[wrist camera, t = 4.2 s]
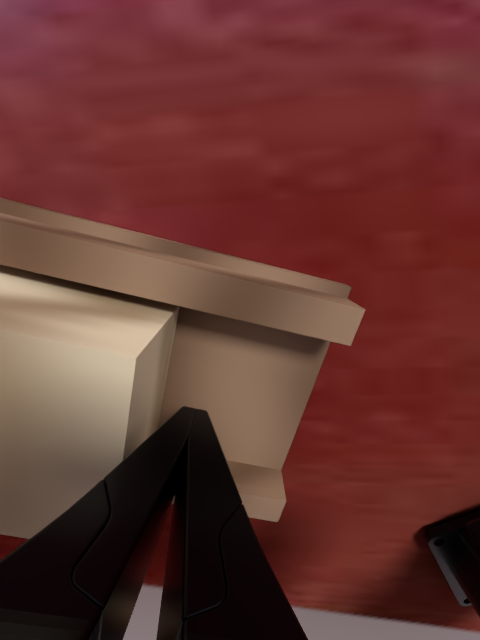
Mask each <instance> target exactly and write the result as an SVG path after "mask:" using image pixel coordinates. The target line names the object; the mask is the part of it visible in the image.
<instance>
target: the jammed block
mask: <svg viewBox="0 0 480 640" xmlns="http://www.w3.org/2000/svg"><path fill="white" fill-rule="evenodd" d="M179 307H180V306H177V305H173V304H168V303H164V302H160V301H155V300H151V299H147V298H142V297H138V296H134V295H130V294H125V293H121V292H117V291H112V290H108V289H104V288H99V287H95V286H91V285H87V284H82V283H78V282H74V281H69V280H65V279H61V278H56V277H52V276H48V275H44V274H39V273H35V272H31V271H26V270H22V269H18V268H13V267H9V266H5V265H1V264H0V534H1V535H8V536H14V537H20V538H27V539H30V538H31V537H33V536H34V535H35V534H37V533H38V532H39V531H41V530H42V529H43V528H45V527H46V526H47V525H48V524H50V523H51V522H52V521H54V520H55V519H56V518H57V517H59V516H60V515H61V514H62V513H64V512H65V511H66V510H68V509H69V508H70V507H71V506H72V505H73V504H75V503H76V502H77V501H78V500H79V499H80V498H82V497H83V496H84V495H85V494H86V493H87V492H89V491H90V490H91V489H92V488H93V487H94V486H95V485H96V484H97V483H98V482H99V481H101V480H104V477H105V476H106V475H107V474H109V473H110V472H111V471H112V470H113V469H114V468H115V467H116V466H117V465H118V464H120V463H121V462H122V461H123V460H124V459H125V458H126V457H127V456H128V455H130V454H131V453H132V452H133V451H134V450H135V449H136V448H137V447H138V446H139V445H141V444H142V443H143V442H144V441H145V440H146V439H147V438H148V437H149V436H150V435H152V434H153V433H154V432H155V431H156V430H157V429H158V425H159V419H160V413H161V408H162V402H163V397H164V391H165V385H166V380H167V374H168V368H169V363H170V357H171V352H172V346H173V340H174V335H175V329H176V324H177V318H178V312H179Z"/></svg>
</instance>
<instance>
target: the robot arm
mask: <svg viewBox="0 0 480 640" xmlns="http://www.w3.org/2000/svg"><path fill="white" fill-rule="evenodd" d="M174 495H175V497H174ZM173 498H174V505H173V513H172V521H171V529H170V537H169V544H168V552H167V560H166V568H165V576H164V584H163V592H162V600H161V608H160V616H159V624H158V631H157V640H308V639H307V637H306V635H305V633H304V631H303V629H302V627H301V625H300V623H299V621H298V619H297V617H296V615H295V613H294V611H293V609H292V607H291V605H290V603H289V602H288V600H287V598H286V596H285V594H284V592H283V590H282V588H281V586H280V584H279V582H278V580H277V578H276V576H275V574H274V572H273V570H272V568H271V566H270V564H269V562H268V560H267V558H266V556H265V554H264V552H263V550H262V548H261V546H260V544H259V541H258V539H257V537H256V534H255V532H254V530H253V527H252V525H251V522H250V520H249V517H248V515H247V512H246V510H245V507H244V505H243V504H242V499H241V497H240V494H239V492H238V489H237V486H236V484H235V481H234V479H233V476H232V473H231V471H230V468H229V466H228V463H227V460H226V458H225V455H224V453H223V450H222V447H221V445H220V442H219V440H218V437H217V434H216V432H215V429H214V427H213V424H212V421H211V419H210V416H209V414H208V412H207V411H206V410H202V409H197V408H196V409H195V408H192V407H187V406H183V407H181V408H180V409H179V410H178V411H177V412H176V413H175V414H174V415H173V416H171V417H170V418H169V419H168V420H167V421H166V422H165V423H164V424H163V425H162V426H160V427H159V428H158V429H157V430H156V431H155V432H154V433H153V434H152V435H150V436H149V437H148V438H147V439H146V440H145V441H144V442H143V443H142V444H141V445H139V446H138V447H137V448H136V449H135V450H134V451H133V452H132V453H131V454H130V455H128V456H127V457H126V458H125V459H124V460H123V461H122V462H121V463H120V464H118V465H117V466H116V467H115V468H114V469H113V470H112V471H111V472H110V473H109V474H107V475H106V476H105V477H104V480H101V481H99V482H98V483H97V484H96V485H95V486H94V487H93V488H92V489H91V490H90V491H89V492H87V493H86V494H85V495H84V496H83V497H82V498H80V499H79V500H78V501H77V502H76V503H75V504H73V505H72V506H71V507H70V508H69V509H68V510H66V511H65V512H64V513H62V514H61V515H60V516H59V517H57V518H56V519H55V520H54V521H52V522H51V523H50V524H48V525H47V526H46V527H45V528H43V529H42V530H41V531H39V532H38V533H37V534H35V535H34V536H33V537H31V538H30V539H29V540H27V541H26V542H25V543H23V544H22V545H21V546H19V547H18V548H17V549H15V550H14V551H13V552H11V553H10V554H9V555H7V556H6V557H5V558H3V559H2V560H1V561H0V640H123V637H124V634H125V631H126V628H127V626H128V623H129V620H130V618H131V615H132V612H133V609H134V607H135V603H136V601H137V598H138V595H139V593H140V590H141V587H142V584H143V582H144V579H145V576H146V573H147V570H148V568H149V565H150V562H151V559H152V557H153V554H154V551H155V548H156V545H157V543H158V540H159V537H160V534H161V532H162V529H163V526H164V523H165V520H166V518H167V515H168V512H169V509H170V507H171V504H172V501H173ZM423 536H424V539H425V541H426V543H427V544H428V546H429V548H430V550H431V552H432V554H433V556H434V558H435V560H436V562H437V563H438V565H439V567H440V569H441V571H442V573H443V575H444V577H445V579H446V581H447V582H448V584H449V586H450V588H451V590H452V592H453V594H454V596H455V597H456V599H457V601H458V602H459V604H460V605H461V606H471V605H472V606H473V608H474V609H475V611H476V613H477V614H478V616H479V617H480V510H479V511H477V512H474V513H471V514H468V515H466V516H463V517H460V518H457V519H454V520H452V521H449V522H446V523H443V524H440V525H438V526H435V527H432V528H430V529H428V530H426V531H425V532H424V534H423Z"/></svg>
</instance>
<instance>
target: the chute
mask: <svg viewBox="0 0 480 640" xmlns="http://www.w3.org/2000/svg"><path fill="white" fill-rule="evenodd" d="M0 264H1V265H5V266H9V267H13V268H18V269H22V270H26V271H31V272H35V273H39V274H44V275H48V276H52V277H56V278H61V279H65V280H69V281H74V282H78V283H82V284H87V285H91V286H95V287H99V288H104V289H108V290H112V291H117V292H121V293H125V294H130V295H134V296H138V297H142V298H147V299H151V300H155V301H160V302H164V303H168V304H173V305H177V306H180V307H179V312H178V318H177V324H176V329H175V335H174V340H173V346H172V352H171V357H170V363H169V368H168V374H167V380H166V385H165V391H164V397H163V402H162V408H161V413H160V419H159V425H158V428H159V427H160V426H162V425H163V424H164V423H165V422H166V421H167V420H168V419H169V418H170V417H171V416H173V415H174V414H175V413H176V412H177V411H178V410H179V409H180V408H181V407H183V406H187V407H192V408H195V409H196V408H197V409H202V410H206V411H207V412H208V414H209V416H210V419H211V421H212V424H213V427H214V429H215V432H216V434H217V437H218V440H219V442H220V445H221V447H222V450H223V453H224V455H225V458H226V460H227V463H228V466H229V468H230V471H231V473H232V476H233V479H234V481H235V484H236V486H237V489H238V492H239V494H240V497H241V499H242V504H243V505H244V507H245V510H246V512H247V515H248V517H250V518H256V519H262V520H267V521H273V522H278V520H279V518H280V516H281V513H282V511H283V508H284V506H285V503H286V496H285V490H284V484H283V479H282V473H281V469H282V467H283V464H284V461H285V459H286V456H287V454H288V451H289V448H290V446H291V443H292V441H293V438H294V435H295V433H296V430H297V428H298V425H299V422H300V420H301V417H302V415H303V412H304V409H305V407H306V404H307V402H308V399H309V396H310V394H311V391H312V389H313V386H314V383H315V381H316V378H317V376H318V373H319V370H320V368H321V365H322V363H323V360H324V357H325V355H326V352H327V350H328V347H329V344H330V342H331V341H332V342H336V343H340V344H345V345H349V346H351V344H352V341H353V339H354V336H355V334H356V331H357V329H358V327H359V324H360V322H361V319H362V317H363V315H364V312H365V309H363V308H362V307H360V306H359V305H357V304H355V303H354V302H352V301H350V300H349V299H347V298H348V295H349V292H350V290H351V287H350V286H348V285H346V284H342V283H338V282H334V281H330V280H326V279H322V278H318V277H314V276H310V275H306V274H302V273H298V272H294V271H290V270H287V269H283V268H279V267H275V266H271V265H267V264H263V263H259V262H255V261H251V260H247V259H243V258H239V257H235V256H231V255H227V254H223V253H219V252H215V251H211V250H207V249H203V248H199V247H195V246H191V245H187V244H183V243H179V242H175V241H171V240H167V239H163V238H159V237H155V236H151V235H147V234H143V233H139V232H135V231H131V230H127V229H123V228H119V227H115V226H111V225H107V224H103V223H99V222H95V221H91V220H87V219H83V218H79V217H75V216H71V215H67V214H63V213H59V212H55V211H51V210H47V209H43V208H39V207H35V206H31V205H27V204H23V203H20V202H16V201H12V200H8V199H4V198H0ZM174 497H175V495H174ZM172 504H174V498H173V501H172Z"/></svg>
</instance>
